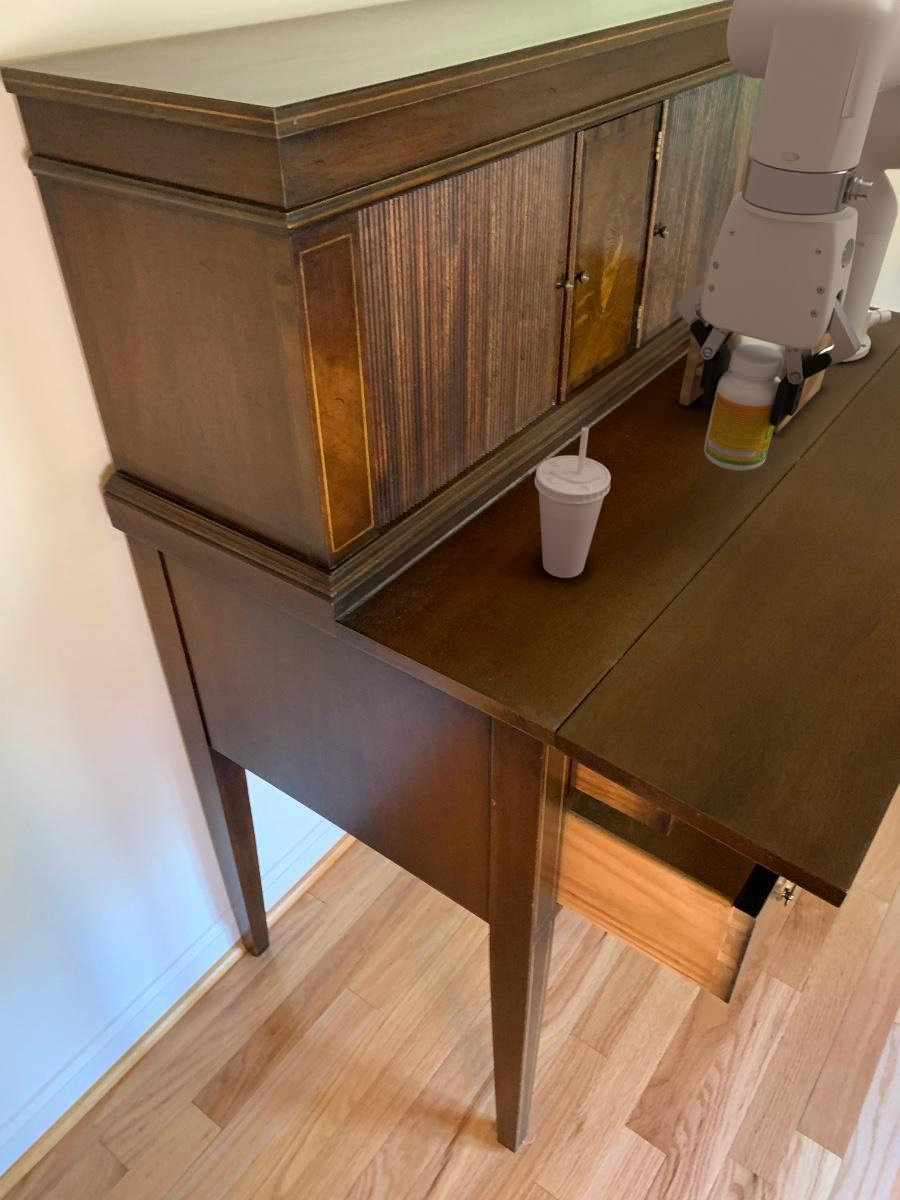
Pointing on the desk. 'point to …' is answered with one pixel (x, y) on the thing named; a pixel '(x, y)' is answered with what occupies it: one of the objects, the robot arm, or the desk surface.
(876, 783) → the desk surface
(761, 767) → the desk surface
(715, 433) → the supplement bottle
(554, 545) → the smoothie
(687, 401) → the shelf stand
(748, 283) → the robot arm
